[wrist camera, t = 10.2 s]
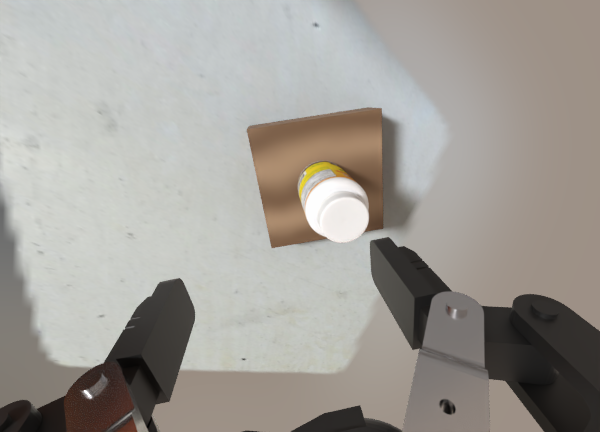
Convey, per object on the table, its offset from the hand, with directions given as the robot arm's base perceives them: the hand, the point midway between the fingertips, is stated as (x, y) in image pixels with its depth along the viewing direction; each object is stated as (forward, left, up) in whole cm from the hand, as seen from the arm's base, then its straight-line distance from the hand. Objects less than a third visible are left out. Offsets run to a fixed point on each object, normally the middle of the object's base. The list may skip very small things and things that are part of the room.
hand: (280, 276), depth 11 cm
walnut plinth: (+3, +5, -23) cm, 24 cm away
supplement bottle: (+3, +5, -19) cm, 20 cm away
